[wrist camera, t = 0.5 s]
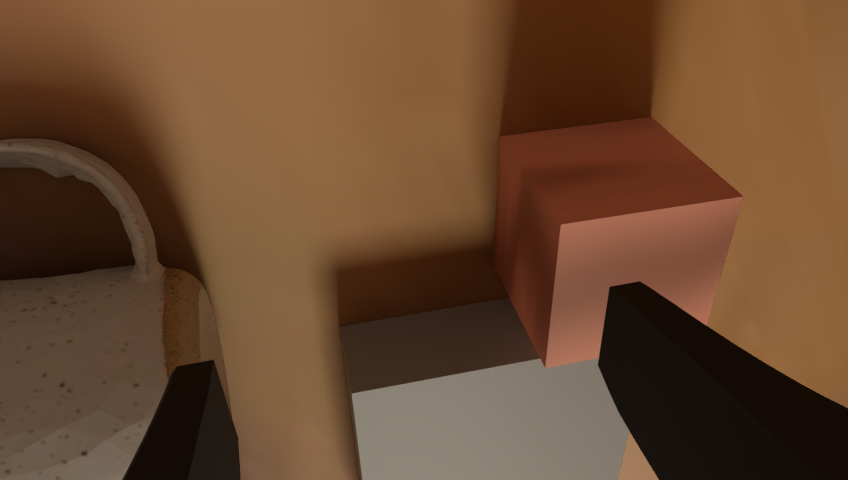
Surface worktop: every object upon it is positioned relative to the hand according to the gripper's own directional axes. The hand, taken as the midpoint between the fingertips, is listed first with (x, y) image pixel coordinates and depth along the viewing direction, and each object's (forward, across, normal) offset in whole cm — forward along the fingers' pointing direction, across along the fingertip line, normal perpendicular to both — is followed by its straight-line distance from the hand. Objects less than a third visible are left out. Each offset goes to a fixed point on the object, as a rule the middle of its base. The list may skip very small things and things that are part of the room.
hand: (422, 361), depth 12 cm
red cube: (+9, -7, +3) cm, 12 cm away
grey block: (+10, -4, +12) cm, 16 cm away
